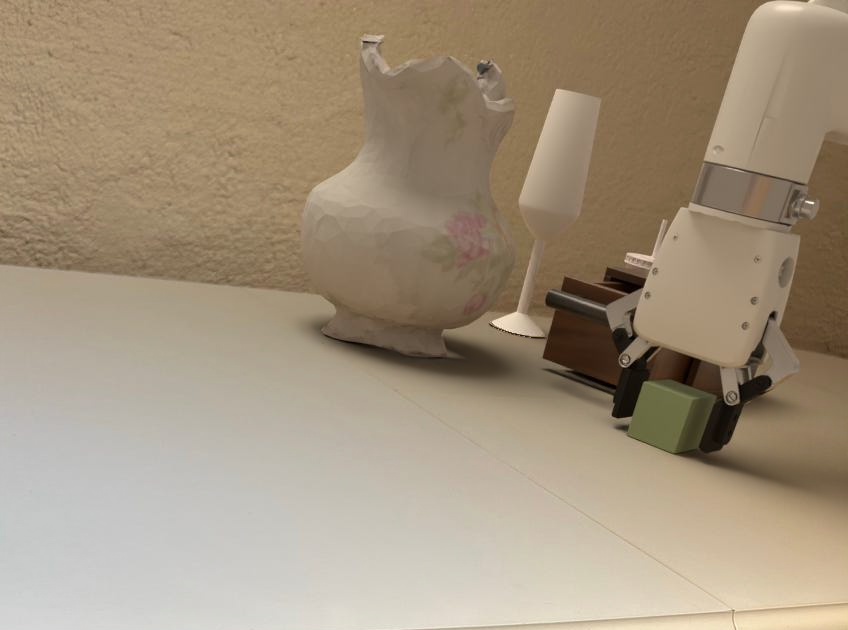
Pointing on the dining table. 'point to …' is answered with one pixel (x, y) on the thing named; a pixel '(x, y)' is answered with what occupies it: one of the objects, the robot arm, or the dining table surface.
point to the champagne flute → (554, 187)
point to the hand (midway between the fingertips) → (665, 431)
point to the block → (671, 415)
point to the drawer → (599, 333)
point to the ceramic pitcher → (414, 207)
